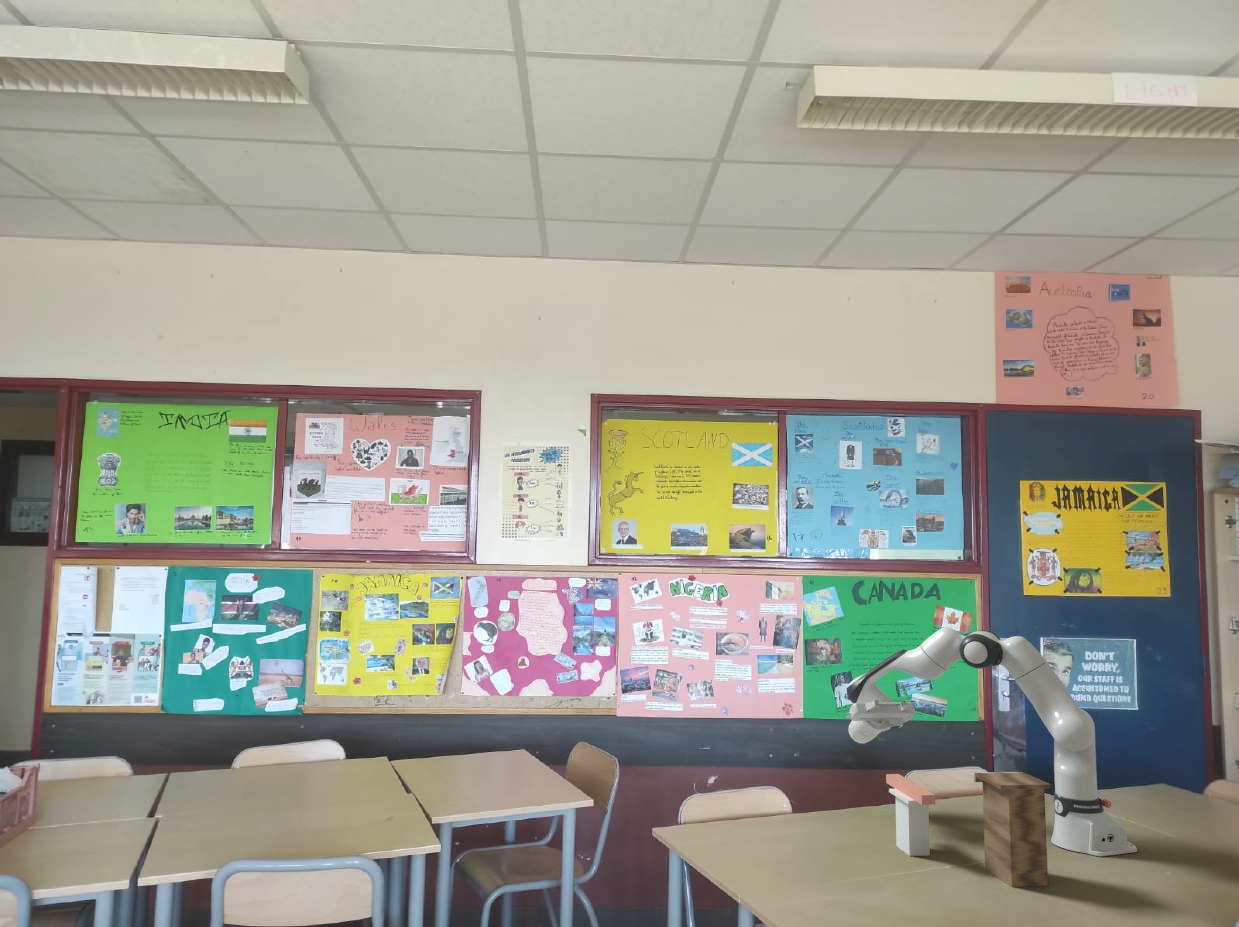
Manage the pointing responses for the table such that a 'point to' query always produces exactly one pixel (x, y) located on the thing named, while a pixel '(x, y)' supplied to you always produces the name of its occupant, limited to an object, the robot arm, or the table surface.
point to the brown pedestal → (1015, 827)
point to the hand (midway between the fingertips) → (891, 702)
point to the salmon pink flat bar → (911, 789)
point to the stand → (911, 825)
